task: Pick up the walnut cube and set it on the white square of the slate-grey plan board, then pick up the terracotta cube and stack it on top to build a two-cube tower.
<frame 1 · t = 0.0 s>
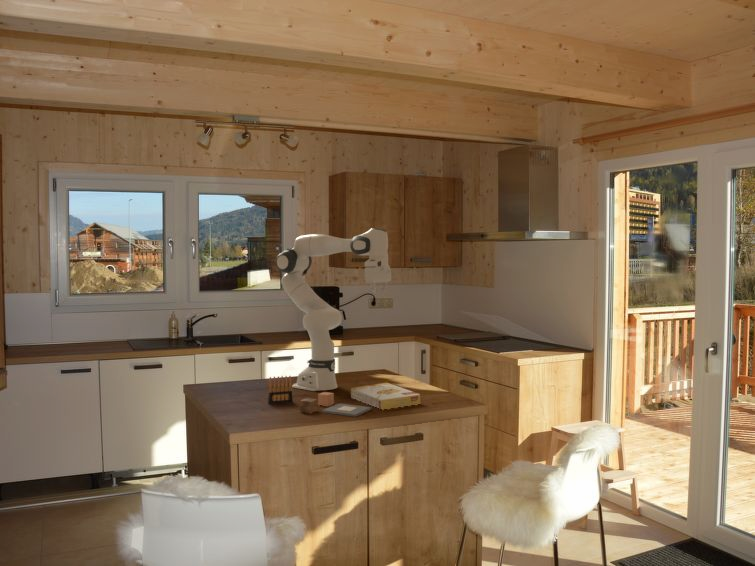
hand: (378, 292, 318), 48 cm above the counter, tool pointing down, fingers open, 8 cm apart
terracotta cube: (325, 404, 298), on the counter
cereal box: (385, 402, 305), on the counter
ammunition clip: (280, 403, 302), on the counter
walnut cube: (308, 411, 286), on the counter
plan board: (346, 411, 287), on the counter
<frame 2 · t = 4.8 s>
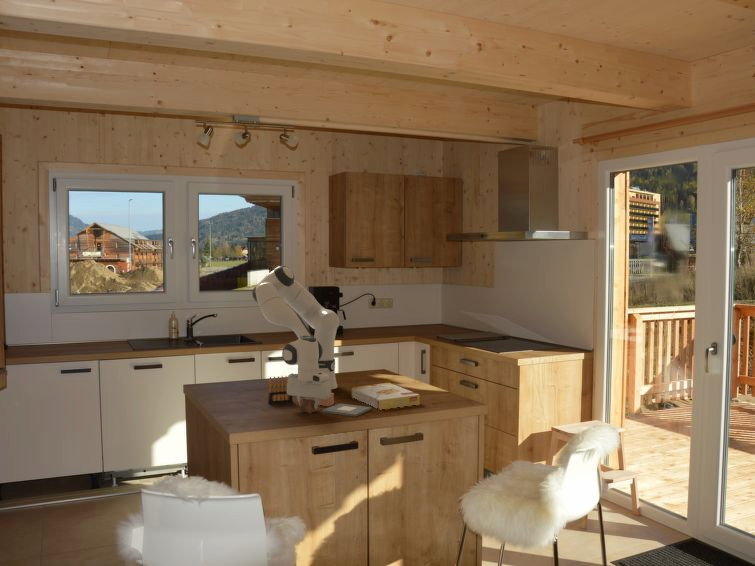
hand: (308, 407, 286), 2 cm above the counter, tool pointing down, fingers closed on walnut cube, 5 cm apart
walnut cube: (308, 411, 286), on the counter, touching gripper
everything else where it was.
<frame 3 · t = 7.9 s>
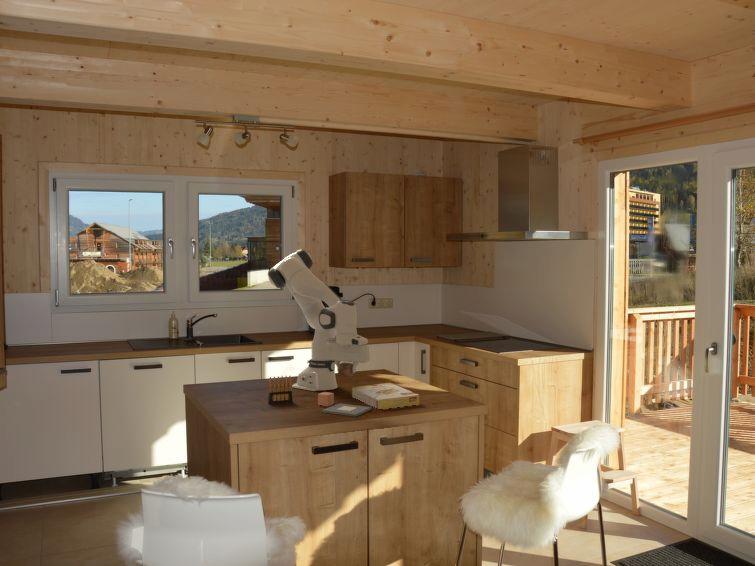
hand: (346, 371, 286), 17 cm above the counter, tool pointing down, fingers closed on walnut cube, 5 cm apart
walnut cube: (346, 375, 286), point 15 cm above the counter, touching gripper
everything else where it was.
when the fingers open (4 cm above the counter, at t = 10.6 s): walnut cube stays where it is, resting on plan board.
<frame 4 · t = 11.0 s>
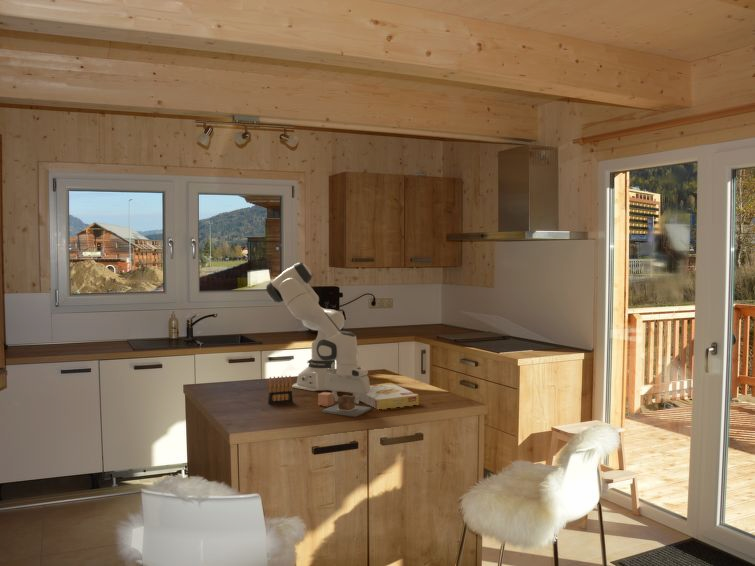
hand: (346, 402, 287), 4 cm above the counter, tool pointing down, fingers open, 8 cm apart
walnut cube: (346, 408, 287), point 1 cm above the counter, touching plan board
everything else where it was.
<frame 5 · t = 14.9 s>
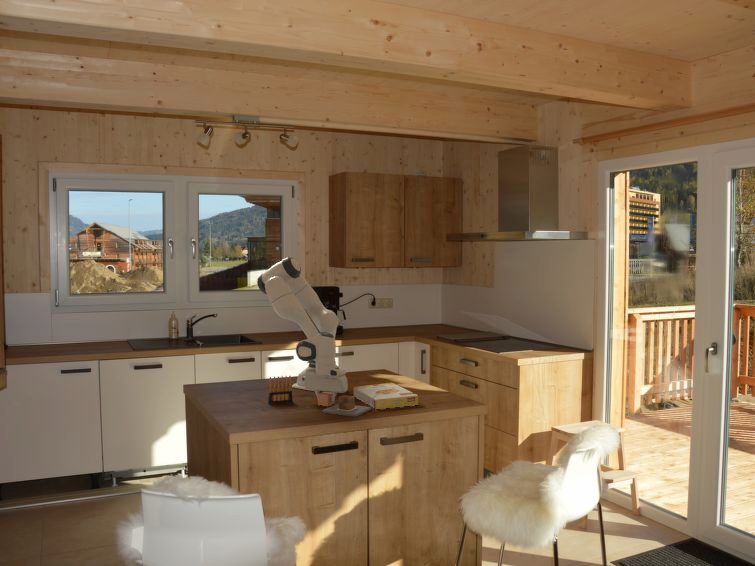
hand: (325, 400, 298), 2 cm above the counter, tool pointing down, fingers closed on terracotta cube, 5 cm apart
terracotta cube: (325, 404, 298), on the counter, touching gripper
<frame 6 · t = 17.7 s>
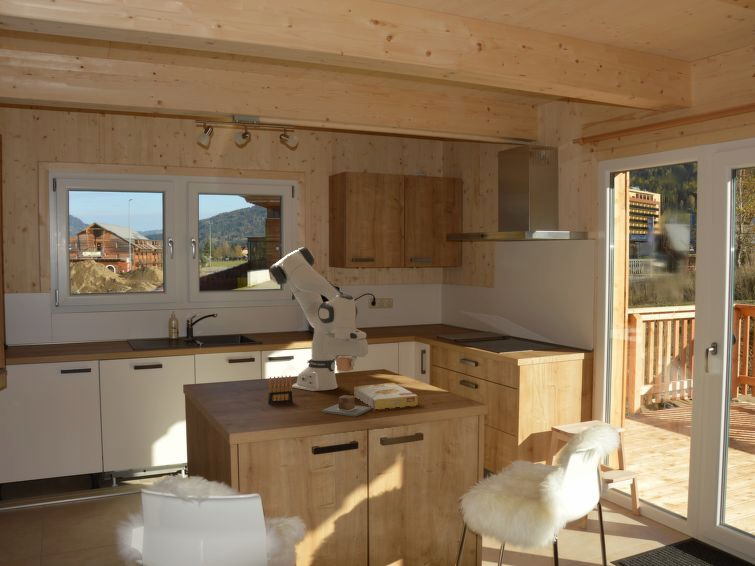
hand: (345, 366, 286), 19 cm above the counter, tool pointing down, fingers closed on terracotta cube, 5 cm apart
terracotta cube: (345, 369, 286), point 17 cm above the counter, touching gripper
when the fingers open (9 cm above the counter, at t = 20.6 s): terracotta cube stays where it is, resting on walnut cube.
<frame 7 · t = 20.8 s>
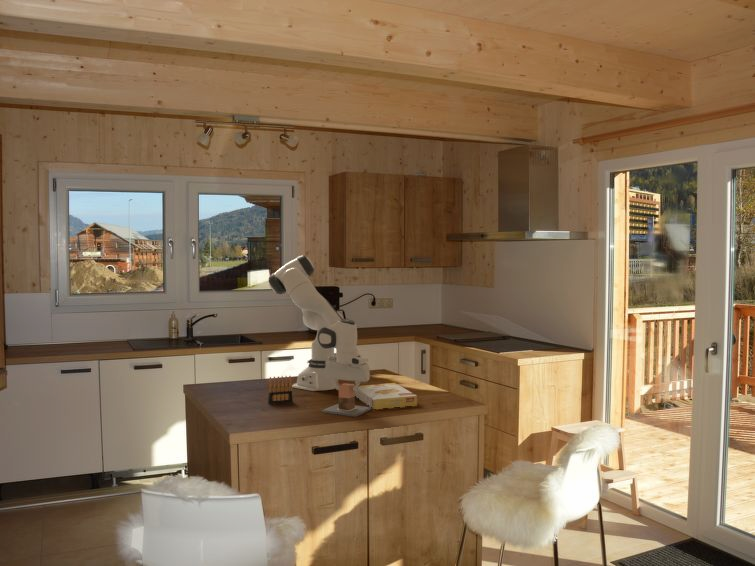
hand: (346, 390, 286), 9 cm above the counter, tool pointing down, fingers open, 7 cm apart
terracotta cube: (346, 396, 286), point 6 cm above the counter, touching walnut cube
walnut cube: (346, 408, 287), point 1 cm above the counter, touching plan board, terracotta cube
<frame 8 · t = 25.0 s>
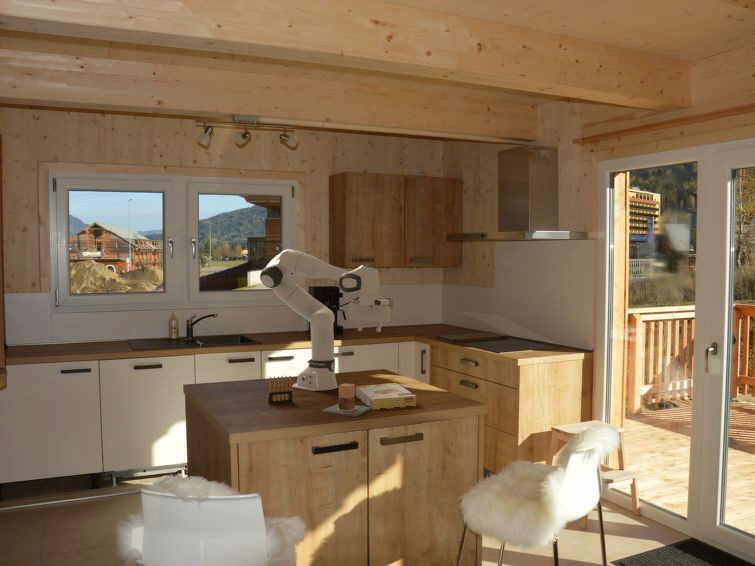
hand: (369, 331, 307), 31 cm above the counter, tool pointing down, fingers open, 8 cm apart
at the end: walnut cube 0.1 cm off-centre on the plan board, point 1.1 cm above the plan board's base; terracotta cube 0.1 cm off-centre on the walnut cube, point 5.0 cm above the walnut cube's base; terracotta cube tilted 0° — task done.
